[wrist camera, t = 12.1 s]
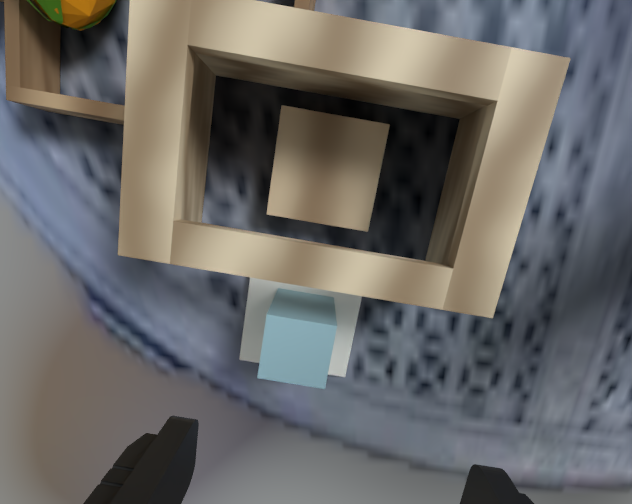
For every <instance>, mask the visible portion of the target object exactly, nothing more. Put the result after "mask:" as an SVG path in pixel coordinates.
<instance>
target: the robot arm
mask: <svg viewBox="0 0 632 504" xmlns="http://www.w3.org/2000/svg"><path fill="white" fill-rule="evenodd" d="M197 436H198V420H196V419H190V418H184V417H177V416H171V417H170V418H169V419H168V420H167V422H166V423H165V425H164V426H163V428H162V429H161V430H160V432H159V433H158V435H155V434H149V433H146V434H144V435H143V436H142V437H140V438H139V439H137V440H136V441H135V442H134V443H132V444H131V445H129V446H128V447H127V448H126V449H125V451H124V452H123V453H122V455H121V456H120V457H119V458H118V460H117V461H116V462H115V463H114V465H113V468H112V469H110V470H109V471H108V473H107V474H106V475H105V476H104V478H103V479H102V480H101V483H100V485H98V486H97V487H96V488H95V489H94V491H93V492H92V493H91V495H90V496H89V497H88V499H87V500H86V501H85V502H84V504H181V503H182V501H183V498H184V496H185V494H186V492H187V489H188V487H189V485H190V482H191V479H192V475H193V471H194V467H195V459H196V447H197ZM460 504H534V503H533V502H532V501H531V500H530V499H529V498H528V497H527V496H526V495H525V494H522V493H519V492H518V490H517V489H516V487H515V486H514V484H513V482H512V481H511V479H510V478H509V476H508V475H507V473H506V472H505V471H504V470H503V469H501V468H495V467H488V466H482V465H473V466H472V467H471V469H470V471H469V475H468V478H467V481H466V485H465V488H464V492H463V495H462V498H461V502H460Z"/></svg>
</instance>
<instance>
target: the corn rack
mask: <svg viewBox="0 0 632 504" xmlns="http://www.w3.org/2000/svg"><path fill="white" fill-rule="evenodd" d="M315 1H316V0H295V4H294V8H300V9H305V10H310V11H314V8H315ZM0 2H4V16H5V61H6V100H9V101H12V102H16V103H19V104H23V105H27V106H30V107H34V108H37V109H41V110H44V111H48V112H54V113H59V114H65V115H71V116H76V117H82V118H88V119H94V120H99V121H105V122H111V123H116V124H122V125H124V112H125V106H123V105H117V104H111V103H106V102H100V101H94V100H89V99H83V98H77V97H72V96H66V95H60V28H61V25H59V24H57V23H55V22H54V21H53V20H50V19H49V18H48V17H47V16H46V15H45V14H44V12H43V11H42V10H41V9H40V8H39V7H38V6H37V4H36V3H35V2H34V1H33V0H30V2H31V3H32V4H33V5H34V6H35V7H36V8H37V9H38V10H39V11H40V13H41V14H42V15H43V16H44V17H43V16H42V15H41V14H40V13H39V12H38V11H37V10H36V9H35V8H34V7H33V6H32V5H31V4H30V3H29V2H28V1H27V0H0ZM46 18H47V19H49V20H50V21H48V20H47V19H46ZM51 21H52V22H51Z"/></svg>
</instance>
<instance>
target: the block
mask: <svg viewBox="0 0 632 504" xmlns="http://www.w3.org/2000/svg"><path fill="white" fill-rule="evenodd" d="M336 329H337V321H336V312H335V303H334V297H329V296H323V295H317V294H311V293H305V292H299V291H293V290H287V289H281V288H278V289H277V292H276V294H275V296H274V299H273V301H272V303H271V305H270V308H269V310H268V312H267V315H266V322H265V329H264V335H263V342H262V349H261V356H260V363H259V370H258V376H257V378H260V379H266V380H272V381H278V382H284V383H290V384H297V385H303V386H309V387H315V388H321V389H325V386H326V381H327V375H328V370H329V365H330V360H331V355H332V350H333V345H334V340H335V334H336Z"/></svg>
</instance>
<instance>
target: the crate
mask: <svg viewBox="0 0 632 504" xmlns="http://www.w3.org/2000/svg"><path fill="white" fill-rule="evenodd" d="M569 62H570V58H567V57H561V56H556V55H550V54H545V53H540V52H534V51H529V50H523V49H518V48H512V47H507V46H501V45H496V44H490V43H485V42H480V41H474V40H469V39H463V38H458V37H452V36H447V35H441V34H436V33H430V32H425V31H420V30H414V29H409V28H403V27H398V26H392V25H387V24H381V23H376V22H370V21H365V20H360V19H354V18H349V17H343V16H338V15H332V14H327V13H321V12H316V11H310V10H305V9H300V8H294V7H289V6H283V5H278V4H272V3H267V2H261V1H256V0H130V6H129V28H128V49H127V70H126V91H125V112H124V134H123V155H122V176H121V197H120V218H119V239H118V255H120V256H126V257H132V258H138V259H144V260H150V261H156V262H162V263H168V264H174V265H180V266H185V267H191V268H197V269H203V270H209V271H215V272H221V273H227V274H233V275H239V276H245V277H251V278H257V279H263V280H269V281H275V282H280V283H286V284H292V285H298V286H304V287H310V288H316V289H322V290H328V291H334V292H340V293H346V294H352V295H358V296H364V297H370V298H375V299H381V300H387V301H393V302H399V303H405V304H411V305H417V306H423V307H429V308H435V309H441V310H447V311H453V312H459V313H465V314H470V315H476V316H482V317H488V318H493V315H494V312H495V309H496V305H497V302H498V299H499V295H500V292H501V289H502V285H503V282H504V279H505V275H506V272H507V269H508V265H509V262H510V259H511V255H512V252H513V249H514V245H515V242H516V239H517V235H518V232H519V229H520V225H521V222H522V219H523V215H524V212H525V209H526V205H527V202H528V199H529V195H530V192H531V189H532V185H533V182H534V179H535V175H536V172H537V169H538V165H539V162H540V159H541V155H542V152H543V149H544V145H545V142H546V139H547V135H548V132H549V129H550V125H551V122H552V118H553V115H554V112H555V108H556V105H557V102H558V98H559V95H560V92H561V88H562V85H563V82H564V78H565V75H566V72H567V68H568V65H569ZM216 75H217V76H223V77H228V78H234V79H239V80H245V81H251V82H256V83H262V84H267V85H273V86H278V87H284V88H290V89H295V90H301V91H306V92H312V93H318V94H323V95H329V96H334V97H340V98H346V99H351V100H357V101H362V102H368V103H373V104H379V105H385V106H390V107H396V108H401V109H407V110H413V111H418V112H424V113H429V114H435V115H441V116H446V117H452V118H457V119H460V120H459V124H458V128H457V133H456V137H455V141H454V145H453V149H452V153H451V157H450V161H449V165H448V169H447V173H446V177H445V182H444V186H443V190H442V194H441V198H440V202H439V206H438V210H437V214H436V218H435V222H434V226H433V231H432V235H431V239H430V243H429V247H428V251H427V255H426V259H425V261H422V260H416V259H410V258H405V257H399V256H393V255H387V254H381V253H375V252H370V251H364V250H358V249H352V248H346V247H340V246H334V245H329V244H323V243H317V242H311V241H305V240H299V239H293V238H288V237H282V236H276V235H270V234H264V233H258V232H253V231H247V230H241V229H235V228H229V227H223V226H217V225H212V224H206V223H201V222H202V212H203V202H204V192H205V182H206V172H207V162H208V151H209V141H210V131H211V121H212V111H213V101H214V91H215V81H216ZM389 127H390V124H385V123H379V122H373V121H368V120H362V119H357V118H351V117H345V116H340V115H334V114H328V113H323V112H317V111H312V110H306V109H300V108H295V107H289V106H283V105H282V106H281V113H280V120H279V128H278V135H277V142H276V149H275V156H274V164H273V171H272V178H271V185H270V192H269V200H268V207H267V215H273V216H279V217H285V218H291V219H296V220H302V221H308V222H314V223H320V224H326V225H331V226H337V227H343V228H349V229H355V230H360V231H366V232H368V229H369V224H370V220H371V215H372V210H373V205H374V200H375V195H376V190H377V185H378V180H379V175H380V171H381V166H382V161H383V156H384V151H385V146H386V141H387V136H388V131H389Z"/></svg>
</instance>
